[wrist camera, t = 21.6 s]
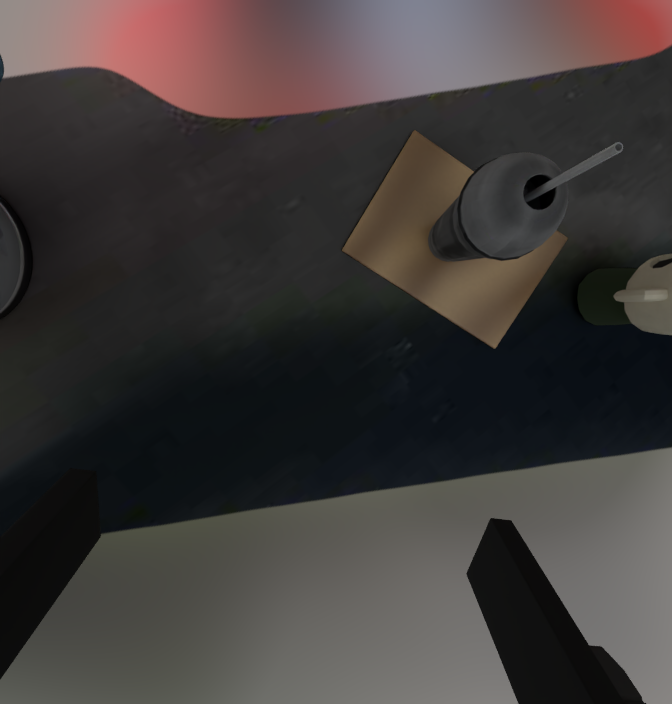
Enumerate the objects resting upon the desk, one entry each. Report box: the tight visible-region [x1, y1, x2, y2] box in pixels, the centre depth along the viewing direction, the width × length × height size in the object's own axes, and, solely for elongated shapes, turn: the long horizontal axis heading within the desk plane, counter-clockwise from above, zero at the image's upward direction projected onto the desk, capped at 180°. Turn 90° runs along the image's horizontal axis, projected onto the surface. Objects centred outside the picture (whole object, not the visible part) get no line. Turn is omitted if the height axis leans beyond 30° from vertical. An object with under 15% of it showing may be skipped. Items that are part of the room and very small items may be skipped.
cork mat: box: [342, 130, 568, 349], centre depth 37 cm, size 20×14×1 cm
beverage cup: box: [428, 142, 623, 262], centre depth 27 cm, size 7×7×20 cm
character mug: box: [577, 254, 672, 335], centre depth 32 cm, size 11×7×13 cm, turn 92°
